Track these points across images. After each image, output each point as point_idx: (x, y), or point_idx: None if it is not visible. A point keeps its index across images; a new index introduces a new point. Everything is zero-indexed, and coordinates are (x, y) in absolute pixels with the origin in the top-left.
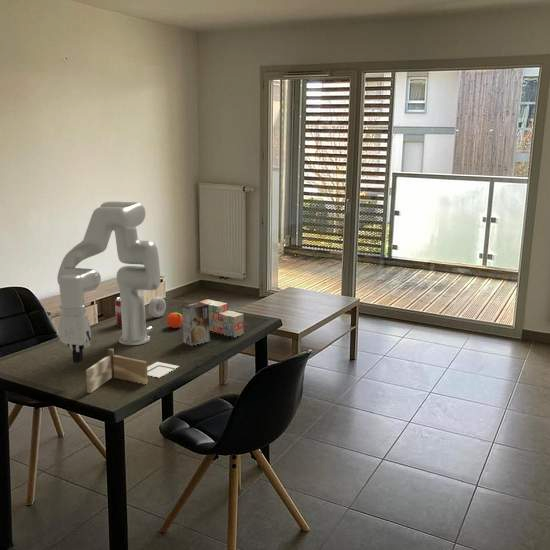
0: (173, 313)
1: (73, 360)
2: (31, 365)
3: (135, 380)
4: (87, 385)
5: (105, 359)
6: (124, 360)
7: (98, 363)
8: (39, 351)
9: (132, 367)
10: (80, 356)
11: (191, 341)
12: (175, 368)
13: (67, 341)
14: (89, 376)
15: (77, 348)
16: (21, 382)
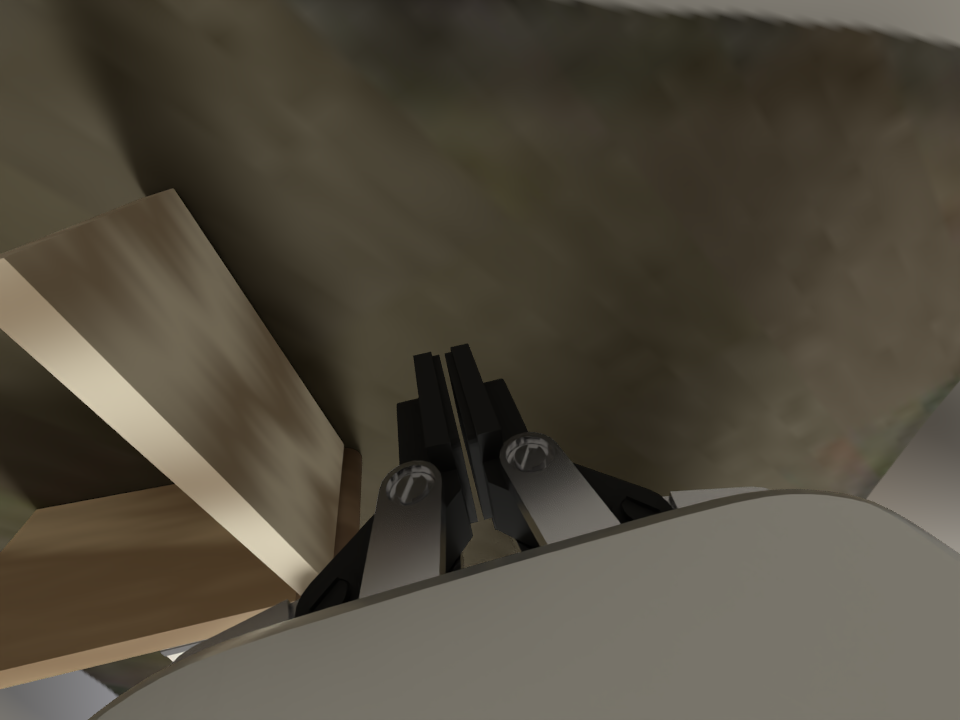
0: None
1: (465, 355)
2: (869, 297)
3: (126, 502)
4: (134, 203)
5: (250, 549)
6: (161, 614)
7: (176, 473)
8: (887, 416)
9: (96, 586)
10: (401, 439)
11: None
12: (167, 655)
13: (639, 588)
14: (26, 244)
15: (404, 524)
16: (833, 43)
